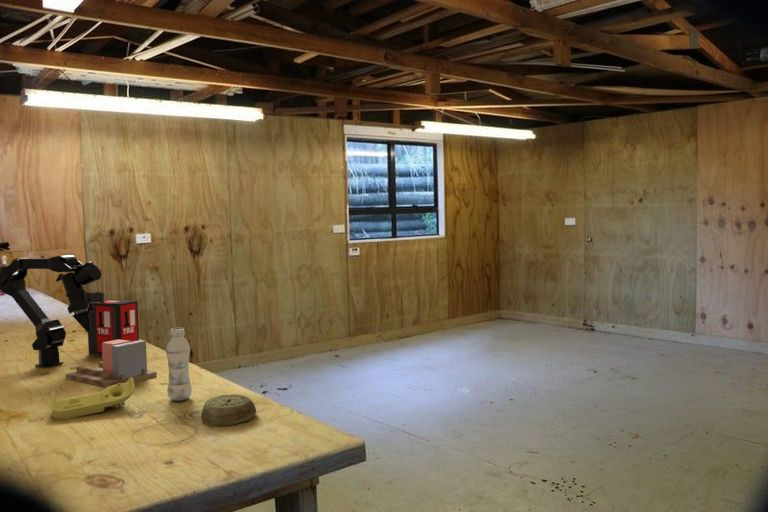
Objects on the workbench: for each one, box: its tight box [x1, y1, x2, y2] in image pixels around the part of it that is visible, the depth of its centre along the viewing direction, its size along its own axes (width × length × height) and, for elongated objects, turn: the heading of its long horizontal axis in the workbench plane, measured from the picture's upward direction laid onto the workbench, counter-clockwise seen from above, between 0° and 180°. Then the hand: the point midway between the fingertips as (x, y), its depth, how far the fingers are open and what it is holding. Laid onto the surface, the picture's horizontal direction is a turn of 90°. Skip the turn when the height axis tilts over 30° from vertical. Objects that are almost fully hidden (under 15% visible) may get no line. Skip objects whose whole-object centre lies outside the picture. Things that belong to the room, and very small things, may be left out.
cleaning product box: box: [87, 299, 140, 356], centre depth 232 cm, size 16×9×20 cm, turn 68°
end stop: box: [112, 339, 148, 381], centre depth 190 cm, size 3×10×10 cm, turn 148°
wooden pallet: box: [65, 361, 158, 388], centre depth 195 cm, size 24×16×3 cm, turn 58°
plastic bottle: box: [165, 327, 193, 402], centre depth 168 cm, size 6×7×20 cm
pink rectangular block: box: [101, 339, 130, 373], centre depth 193 cm, size 6×6×10 cm
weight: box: [200, 394, 257, 427], centre depth 152 cm, size 14×13×5 cm
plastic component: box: [50, 377, 135, 420], centre depth 161 cm, size 20×7×10 cm
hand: (89, 332), depth 209 cm, fingers closed
